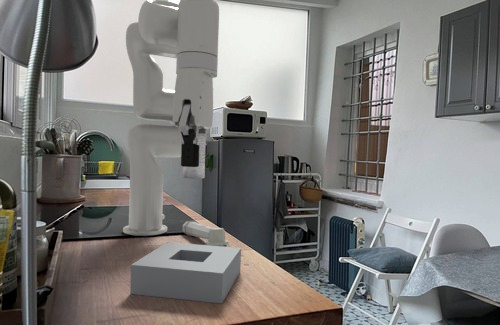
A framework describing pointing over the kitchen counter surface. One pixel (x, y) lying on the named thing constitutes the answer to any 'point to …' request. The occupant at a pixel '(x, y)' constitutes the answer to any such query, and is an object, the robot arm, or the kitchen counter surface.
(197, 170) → the cylinder
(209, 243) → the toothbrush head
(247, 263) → the kitchen counter surface
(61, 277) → the kitchen counter surface
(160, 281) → the socket block
